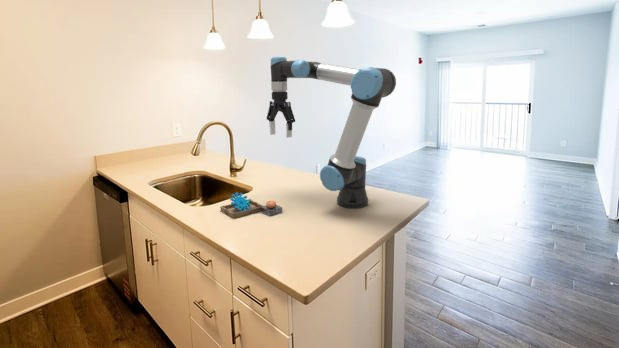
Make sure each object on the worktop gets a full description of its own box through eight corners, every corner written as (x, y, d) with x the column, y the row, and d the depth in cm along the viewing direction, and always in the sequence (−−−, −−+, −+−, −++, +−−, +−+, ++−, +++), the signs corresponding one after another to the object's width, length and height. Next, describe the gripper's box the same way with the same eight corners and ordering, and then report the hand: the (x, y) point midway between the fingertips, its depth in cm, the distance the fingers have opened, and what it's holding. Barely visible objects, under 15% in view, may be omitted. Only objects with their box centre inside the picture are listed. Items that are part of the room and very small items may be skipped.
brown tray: (264, 210, 159) (264, 206, 159) (233, 219, 150) (233, 214, 149) (250, 203, 169) (250, 199, 168) (220, 211, 159) (220, 206, 158)
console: (282, 212, 157) (282, 207, 156) (269, 216, 152) (269, 210, 152) (273, 208, 162) (273, 203, 161) (260, 212, 158) (260, 206, 157)
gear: (236, 211, 152) (228, 192, 155) (230, 218, 155) (222, 199, 159) (256, 208, 160) (248, 190, 163) (250, 215, 163) (242, 197, 167)
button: (278, 208, 156) (278, 202, 156) (269, 210, 154) (269, 204, 153) (272, 205, 160) (272, 200, 159) (264, 208, 157) (264, 202, 156)
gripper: (302, 91, 159) (302, 137, 164) (271, 90, 177) (272, 132, 182) (289, 91, 154) (290, 139, 159) (258, 91, 172) (260, 134, 177)
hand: (280, 135), depth 171 cm, fingers open, 13 cm apart
